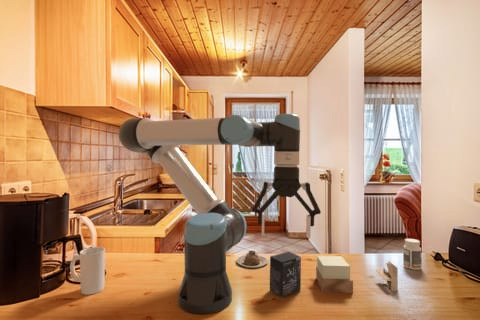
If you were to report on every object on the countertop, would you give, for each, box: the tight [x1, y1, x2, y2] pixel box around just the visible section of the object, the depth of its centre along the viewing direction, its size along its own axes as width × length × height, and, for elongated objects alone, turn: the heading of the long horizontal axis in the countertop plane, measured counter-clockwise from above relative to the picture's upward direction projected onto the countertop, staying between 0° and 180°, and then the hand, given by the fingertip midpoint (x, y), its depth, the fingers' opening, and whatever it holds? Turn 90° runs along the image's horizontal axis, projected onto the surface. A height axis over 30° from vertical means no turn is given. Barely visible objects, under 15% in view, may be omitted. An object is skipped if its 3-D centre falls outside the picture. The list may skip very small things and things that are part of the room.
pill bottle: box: [402, 238, 423, 271], centre depth 99 cm, size 6×6×10 cm
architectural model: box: [376, 260, 399, 292], centre depth 85 cm, size 3×7×7 cm, turn 175°
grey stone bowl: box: [236, 250, 269, 269], centre depth 103 cm, size 12×12×5 cm
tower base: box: [315, 266, 354, 294], centre depth 85 cm, size 9×9×4 cm
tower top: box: [316, 255, 351, 279], centre depth 85 cm, size 8×8×4 cm
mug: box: [69, 246, 106, 296], centre depth 82 cm, size 10×7×12 cm, turn 91°
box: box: [269, 251, 302, 298], centre depth 81 cm, size 8×6×11 cm
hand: (285, 236), depth 81 cm, fingers open, 13 cm apart
